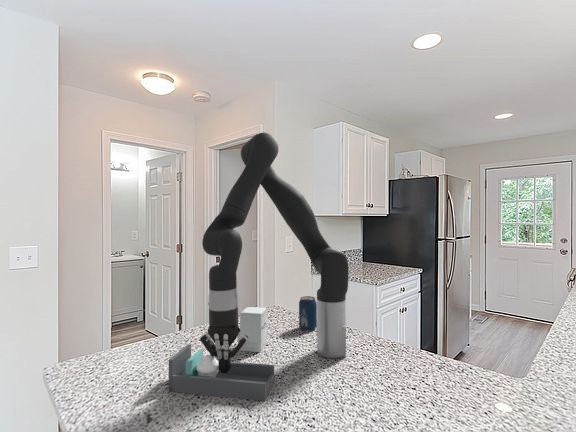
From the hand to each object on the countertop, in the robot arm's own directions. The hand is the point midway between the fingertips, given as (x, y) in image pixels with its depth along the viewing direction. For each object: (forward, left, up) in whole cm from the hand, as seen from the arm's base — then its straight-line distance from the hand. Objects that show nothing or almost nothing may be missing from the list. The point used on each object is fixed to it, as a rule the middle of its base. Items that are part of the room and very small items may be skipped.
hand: (224, 371), depth 83 cm
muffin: (+5, 0, -3) cm, 5 cm away
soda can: (-17, -46, -4) cm, 49 cm away
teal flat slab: (+8, 0, -2) cm, 9 cm away
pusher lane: (0, 0, -4) cm, 4 cm away
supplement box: (-1, -25, -4) cm, 25 cm away
